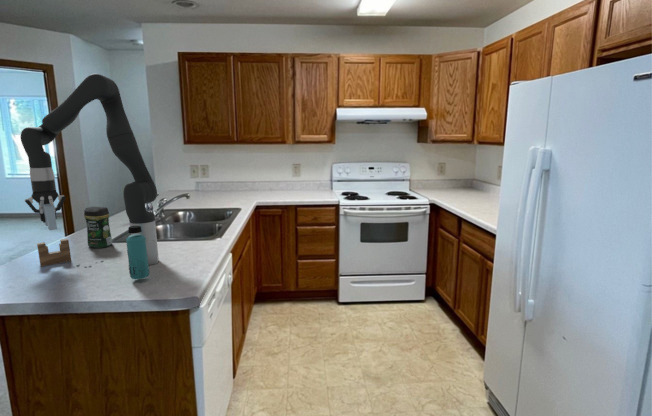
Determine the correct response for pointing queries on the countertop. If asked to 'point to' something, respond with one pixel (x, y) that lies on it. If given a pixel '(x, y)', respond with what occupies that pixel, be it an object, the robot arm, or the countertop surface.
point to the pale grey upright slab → (50, 216)
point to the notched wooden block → (54, 253)
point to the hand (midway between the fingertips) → (48, 221)
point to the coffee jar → (98, 227)
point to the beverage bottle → (137, 253)
